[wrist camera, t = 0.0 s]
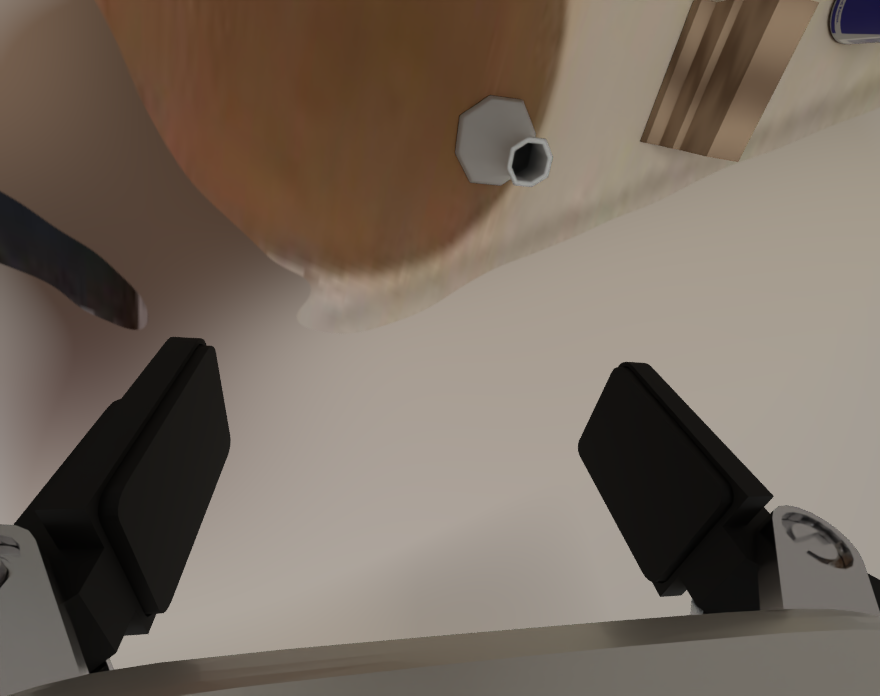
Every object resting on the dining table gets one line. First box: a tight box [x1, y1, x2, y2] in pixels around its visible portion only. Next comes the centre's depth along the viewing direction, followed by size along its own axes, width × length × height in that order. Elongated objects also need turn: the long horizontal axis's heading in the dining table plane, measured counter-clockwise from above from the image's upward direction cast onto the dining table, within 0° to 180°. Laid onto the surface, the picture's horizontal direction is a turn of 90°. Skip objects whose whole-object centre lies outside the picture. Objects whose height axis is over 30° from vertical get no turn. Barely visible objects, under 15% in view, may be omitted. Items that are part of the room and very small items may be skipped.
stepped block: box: [641, 0, 819, 162], centre depth 32 cm, size 10×7×6 cm
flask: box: [455, 95, 553, 187], centre depth 32 cm, size 7×7×10 cm
